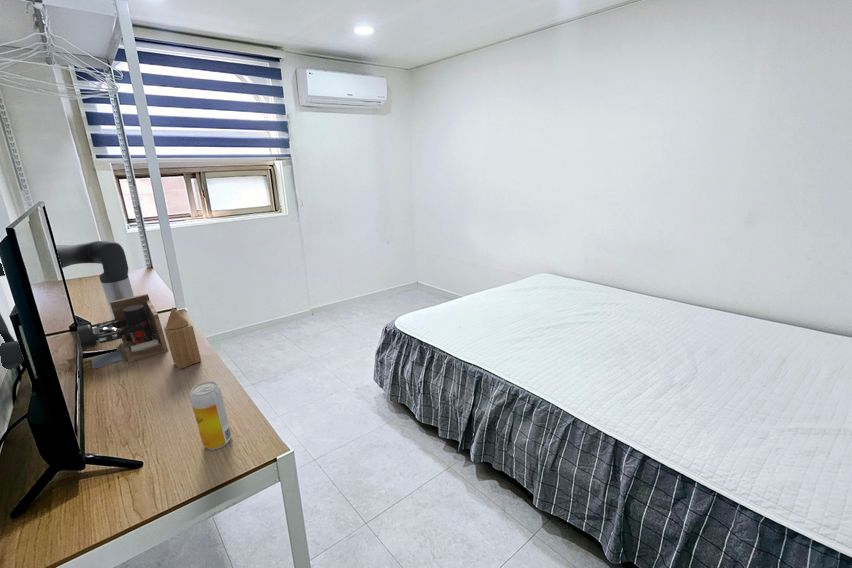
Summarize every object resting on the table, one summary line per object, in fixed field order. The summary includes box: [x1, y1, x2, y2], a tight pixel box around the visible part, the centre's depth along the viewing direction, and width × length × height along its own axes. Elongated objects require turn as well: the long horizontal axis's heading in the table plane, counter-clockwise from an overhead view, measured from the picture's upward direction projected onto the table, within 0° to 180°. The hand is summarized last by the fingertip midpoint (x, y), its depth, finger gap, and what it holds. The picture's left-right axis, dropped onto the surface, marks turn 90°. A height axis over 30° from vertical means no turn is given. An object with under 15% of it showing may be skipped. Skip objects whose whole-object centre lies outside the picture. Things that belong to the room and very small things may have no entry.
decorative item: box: [164, 306, 202, 370], centre depth 126 cm, size 7×7×20 cm
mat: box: [90, 349, 124, 370], centre depth 133 cm, size 9×8×1 cm
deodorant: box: [123, 305, 154, 345], centre depth 139 cm, size 6×6×15 cm
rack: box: [110, 293, 169, 363], centre depth 139 cm, size 20×11×16 cm, turn 41°
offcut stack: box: [130, 338, 160, 353], centre depth 137 cm, size 4×8×3 cm, turn 131°
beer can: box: [189, 380, 232, 451], centre depth 90 cm, size 6×6×15 cm
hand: (135, 324), depth 138 cm, fingers open, 8 cm apart
